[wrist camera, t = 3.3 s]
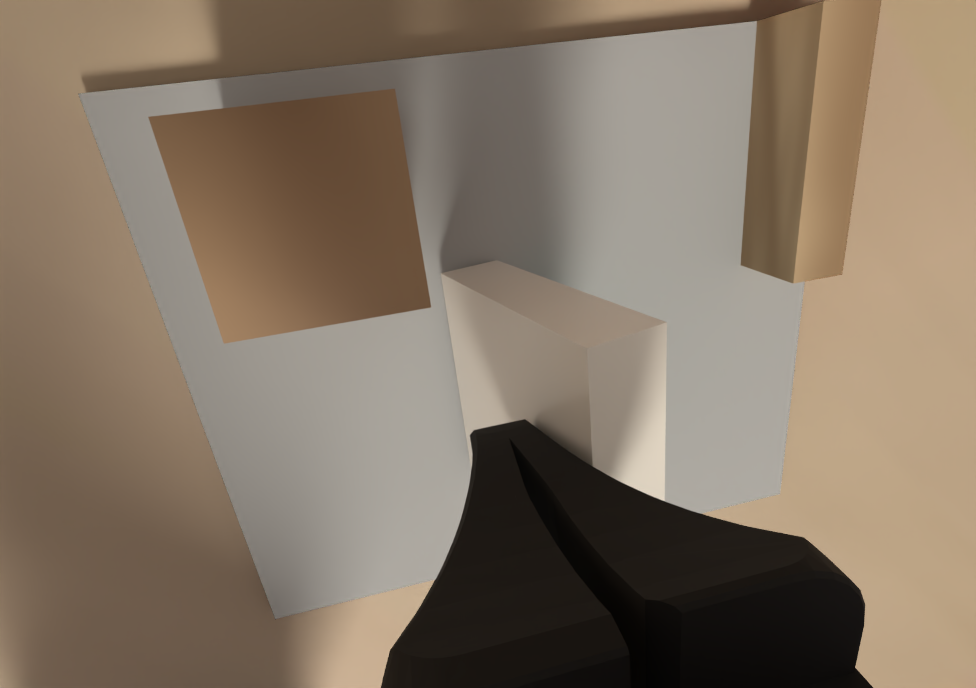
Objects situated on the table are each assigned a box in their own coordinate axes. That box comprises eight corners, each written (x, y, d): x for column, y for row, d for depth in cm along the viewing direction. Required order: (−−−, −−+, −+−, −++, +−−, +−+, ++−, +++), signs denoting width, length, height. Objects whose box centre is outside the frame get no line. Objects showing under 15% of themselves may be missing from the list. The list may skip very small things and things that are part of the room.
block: (270, 279, 15) (223, 343, 10) (225, 123, 13) (147, 117, 9) (413, 256, 15) (431, 307, 11) (387, 104, 14) (395, 88, 9)
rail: (740, 265, 17) (793, 283, 15) (756, 20, 15) (823, 1, 13) (784, 257, 18) (842, 274, 16) (807, 15, 15) (882, -6, 13)
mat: (277, 609, 19) (275, 619, 19) (86, 94, 13) (77, 93, 12) (773, 488, 22) (779, 493, 22) (824, 15, 16) (836, 12, 15)
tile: (472, 475, 18) (600, 634, 12) (440, 273, 15) (586, 348, 9) (522, 455, 19) (668, 596, 13) (501, 259, 16) (673, 320, 10)
